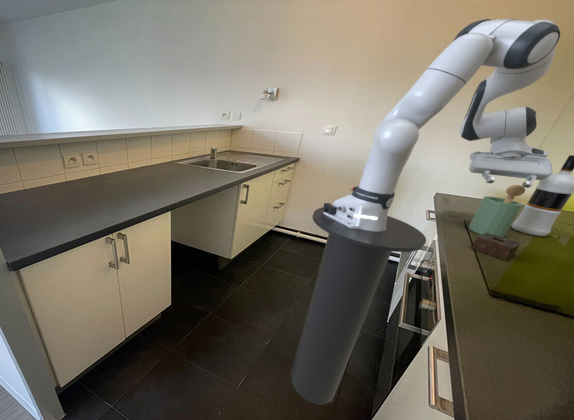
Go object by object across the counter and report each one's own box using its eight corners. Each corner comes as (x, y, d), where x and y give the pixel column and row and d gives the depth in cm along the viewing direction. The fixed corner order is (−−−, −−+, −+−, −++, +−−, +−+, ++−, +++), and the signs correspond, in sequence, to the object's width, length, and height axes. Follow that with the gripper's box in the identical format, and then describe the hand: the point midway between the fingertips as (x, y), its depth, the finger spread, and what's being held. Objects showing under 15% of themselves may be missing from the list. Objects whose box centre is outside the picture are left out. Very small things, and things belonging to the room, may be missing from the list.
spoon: (479, 229, 94) (511, 185, 84) (478, 227, 96) (509, 183, 85) (494, 232, 93) (528, 187, 82) (492, 230, 94) (526, 185, 83)
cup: (464, 228, 96) (479, 198, 91) (473, 225, 100) (489, 195, 95) (498, 239, 89) (517, 206, 84) (507, 235, 93) (526, 203, 88)
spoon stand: (471, 248, 82) (477, 236, 80) (480, 243, 85) (486, 232, 83) (505, 260, 75) (512, 247, 74) (513, 255, 79) (521, 242, 77)
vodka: (508, 229, 97) (553, 154, 86) (511, 224, 102) (553, 152, 91) (546, 239, 90) (600, 158, 79) (547, 233, 95) (598, 156, 84)
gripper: (475, 146, 95) (474, 175, 91) (555, 151, 86) (557, 184, 82) (466, 156, 101) (464, 184, 96) (539, 162, 91) (541, 193, 87)
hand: (508, 184), depth 89 cm, fingers open, 8 cm apart
